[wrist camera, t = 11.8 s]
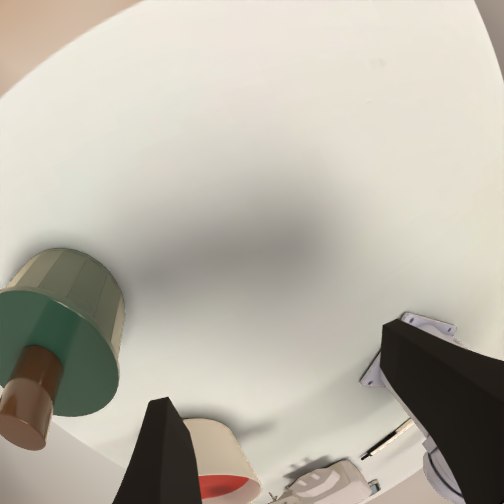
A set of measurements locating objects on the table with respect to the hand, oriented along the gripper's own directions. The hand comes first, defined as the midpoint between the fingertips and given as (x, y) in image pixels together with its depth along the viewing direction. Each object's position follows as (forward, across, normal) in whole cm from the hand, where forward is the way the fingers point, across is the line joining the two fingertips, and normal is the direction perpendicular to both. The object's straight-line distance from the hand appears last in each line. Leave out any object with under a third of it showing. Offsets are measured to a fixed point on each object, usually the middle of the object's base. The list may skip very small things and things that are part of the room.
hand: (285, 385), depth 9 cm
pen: (+10, -19, +29) cm, 36 cm away
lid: (+5, +10, 0) cm, 12 cm away
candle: (+10, +7, +16) cm, 20 cm away
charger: (+11, -4, +34) cm, 36 cm away
